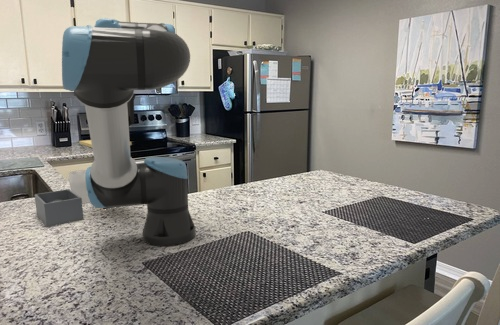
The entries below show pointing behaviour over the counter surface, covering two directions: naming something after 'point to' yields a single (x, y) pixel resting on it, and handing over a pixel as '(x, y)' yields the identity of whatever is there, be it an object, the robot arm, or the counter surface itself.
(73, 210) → the tub
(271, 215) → the counter surface
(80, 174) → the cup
